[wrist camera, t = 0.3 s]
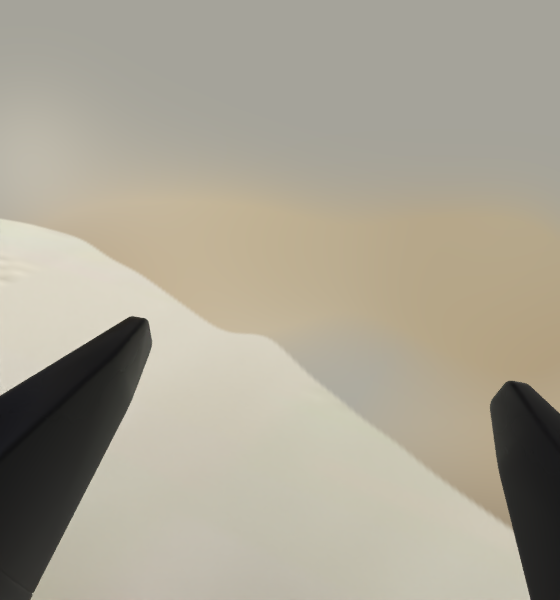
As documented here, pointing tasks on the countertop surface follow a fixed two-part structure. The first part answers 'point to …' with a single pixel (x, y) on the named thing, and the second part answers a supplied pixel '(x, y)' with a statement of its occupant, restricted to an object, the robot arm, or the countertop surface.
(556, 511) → the robot arm
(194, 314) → the countertop surface
